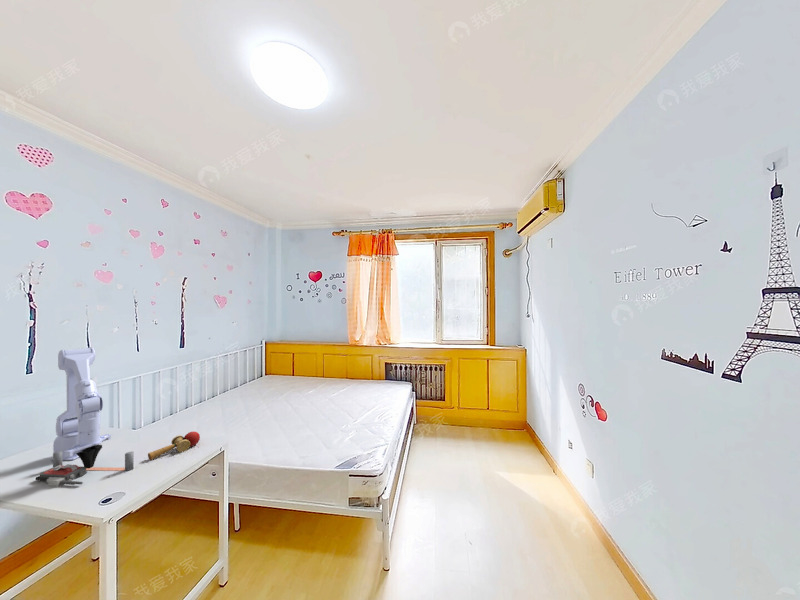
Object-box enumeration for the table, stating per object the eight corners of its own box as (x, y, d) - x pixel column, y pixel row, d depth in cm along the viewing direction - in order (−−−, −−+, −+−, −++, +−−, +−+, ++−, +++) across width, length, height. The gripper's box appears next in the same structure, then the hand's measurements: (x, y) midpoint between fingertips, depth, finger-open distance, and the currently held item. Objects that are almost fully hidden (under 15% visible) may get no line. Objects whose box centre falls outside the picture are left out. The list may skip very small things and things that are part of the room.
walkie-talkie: (26, 486, 105) (78, 489, 103) (27, 473, 105) (78, 476, 103) (58, 472, 114) (105, 475, 112) (58, 460, 114) (106, 462, 112)
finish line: (50, 470, 114) (51, 454, 115) (58, 466, 117) (58, 451, 117) (129, 471, 113) (129, 454, 113) (135, 467, 115) (135, 451, 116)
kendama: (155, 466, 119) (204, 442, 134) (151, 450, 119) (201, 428, 134) (148, 464, 123) (196, 441, 138) (144, 449, 123) (193, 427, 138)
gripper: (78, 438, 106) (77, 478, 106) (118, 422, 121) (118, 457, 121) (58, 438, 107) (58, 478, 106) (101, 422, 121) (101, 457, 121)
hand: (89, 467), depth 113 cm, fingers closed
